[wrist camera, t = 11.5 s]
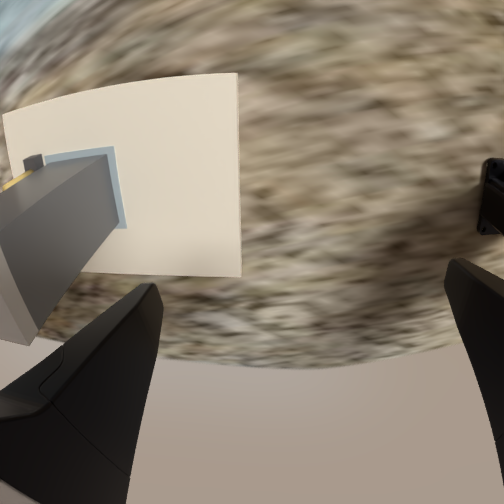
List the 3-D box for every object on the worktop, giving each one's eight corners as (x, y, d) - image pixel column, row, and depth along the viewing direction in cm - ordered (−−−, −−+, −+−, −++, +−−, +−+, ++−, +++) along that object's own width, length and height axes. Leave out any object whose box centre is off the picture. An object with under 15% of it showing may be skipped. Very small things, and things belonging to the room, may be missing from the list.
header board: (237, 73, 17) (228, 72, 13) (241, 268, 25) (236, 314, 20) (11, 111, 18) (-33, 127, 13) (47, 262, 25) (18, 297, 21)
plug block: (107, 153, 19) (-19, 247, 9) (119, 222, 21) (29, 345, 11) (50, 162, 19) (-72, 248, 9) (64, 224, 22) (-31, 330, 11)
